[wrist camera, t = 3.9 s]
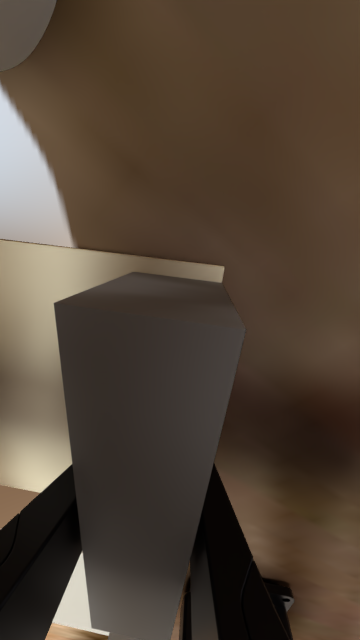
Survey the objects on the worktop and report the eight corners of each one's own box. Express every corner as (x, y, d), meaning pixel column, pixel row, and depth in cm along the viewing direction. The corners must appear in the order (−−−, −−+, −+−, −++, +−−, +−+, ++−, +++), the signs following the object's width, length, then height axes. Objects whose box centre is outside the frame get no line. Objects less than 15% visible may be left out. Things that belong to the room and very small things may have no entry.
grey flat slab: (169, 562, 14) (156, 693, 10) (156, 638, 19) (143, 747, 15) (-95, 507, 15) (-206, 605, 11) (-43, 593, 20) (-106, 682, 16)
